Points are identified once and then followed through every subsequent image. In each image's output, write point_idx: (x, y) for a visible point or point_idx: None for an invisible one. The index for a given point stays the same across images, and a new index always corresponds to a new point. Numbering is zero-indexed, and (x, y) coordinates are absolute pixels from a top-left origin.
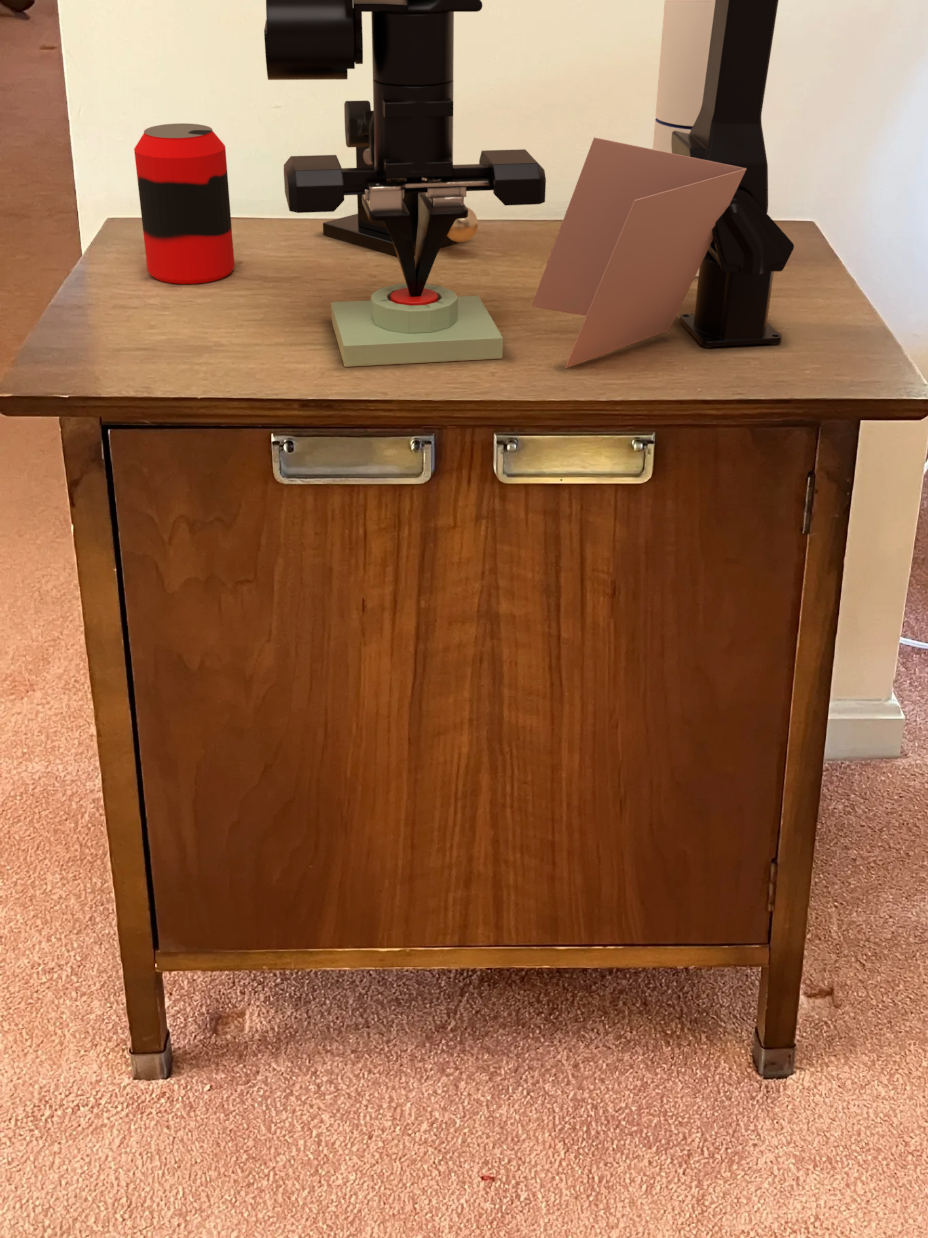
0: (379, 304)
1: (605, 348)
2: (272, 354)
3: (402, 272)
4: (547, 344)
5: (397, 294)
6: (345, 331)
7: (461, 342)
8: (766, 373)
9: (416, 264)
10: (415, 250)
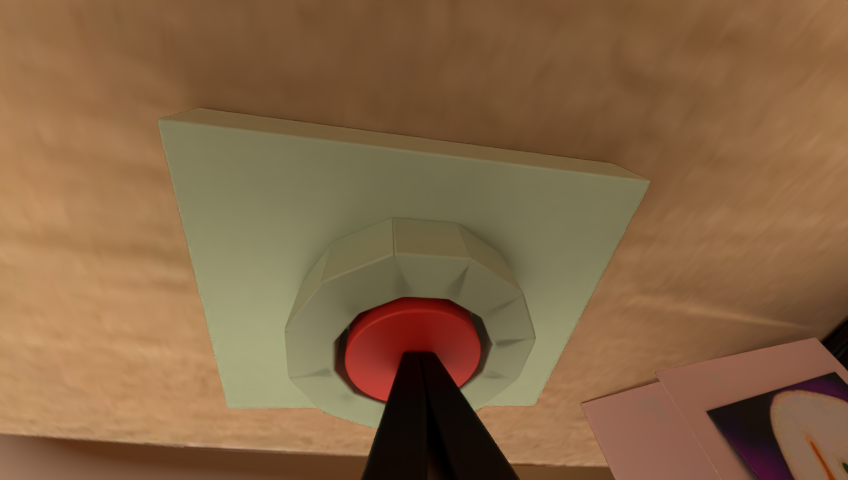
0: (303, 391)
1: (664, 395)
2: (62, 293)
3: (386, 402)
4: (622, 332)
5: (366, 354)
6: (227, 353)
7: None
8: None
9: (430, 467)
10: (455, 475)
